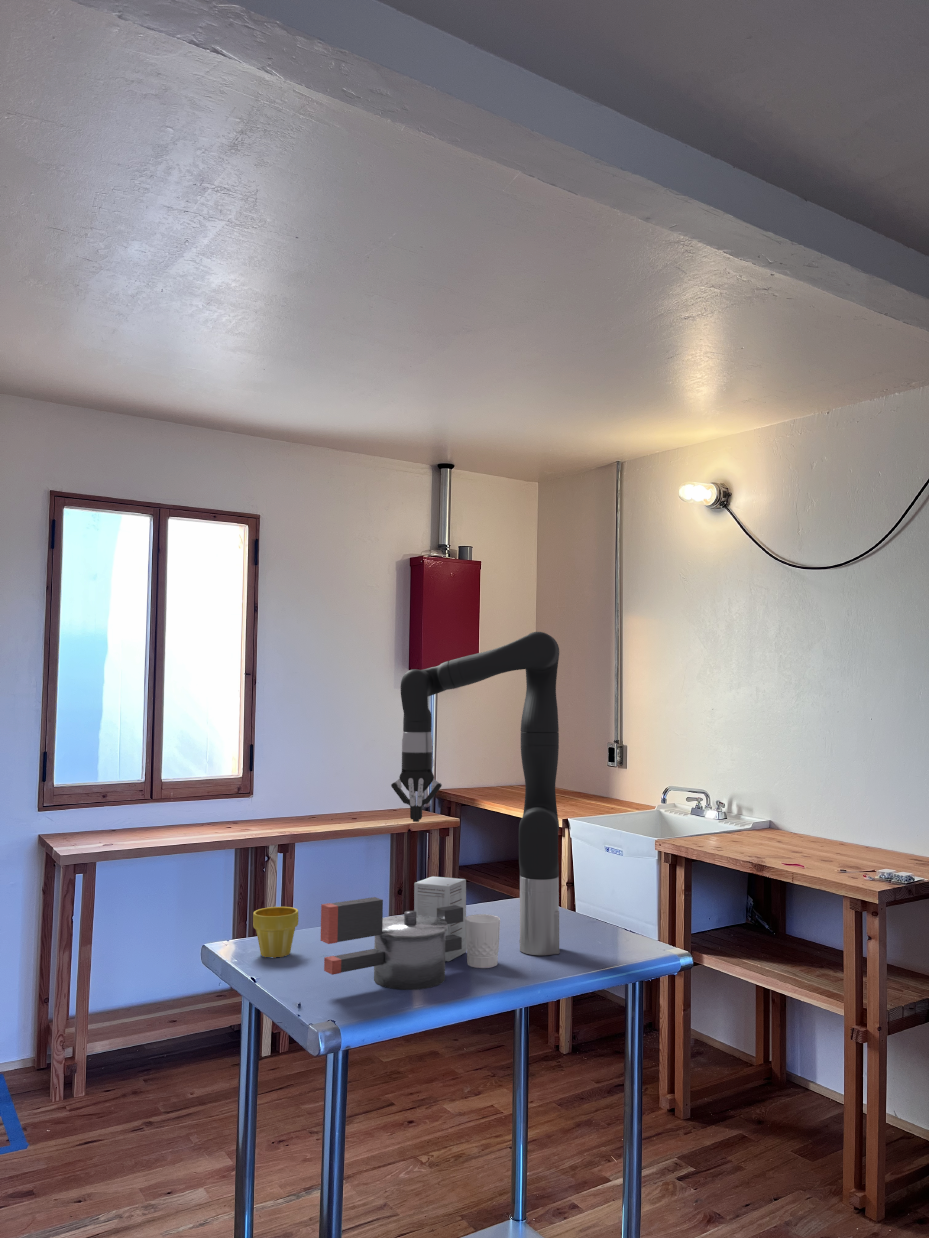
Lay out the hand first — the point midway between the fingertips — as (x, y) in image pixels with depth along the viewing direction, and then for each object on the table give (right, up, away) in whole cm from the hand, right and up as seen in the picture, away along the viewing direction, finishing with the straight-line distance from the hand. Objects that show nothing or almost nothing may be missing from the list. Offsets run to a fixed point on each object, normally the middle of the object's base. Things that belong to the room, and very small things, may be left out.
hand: (416, 821), depth 225 cm
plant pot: (-32, -28, -14) cm, 45 cm away
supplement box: (+6, -28, -13) cm, 32 cm away
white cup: (+16, -28, -20) cm, 38 cm away
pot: (-3, -26, -34) cm, 43 cm away
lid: (-3, -16, -33) cm, 37 cm away
